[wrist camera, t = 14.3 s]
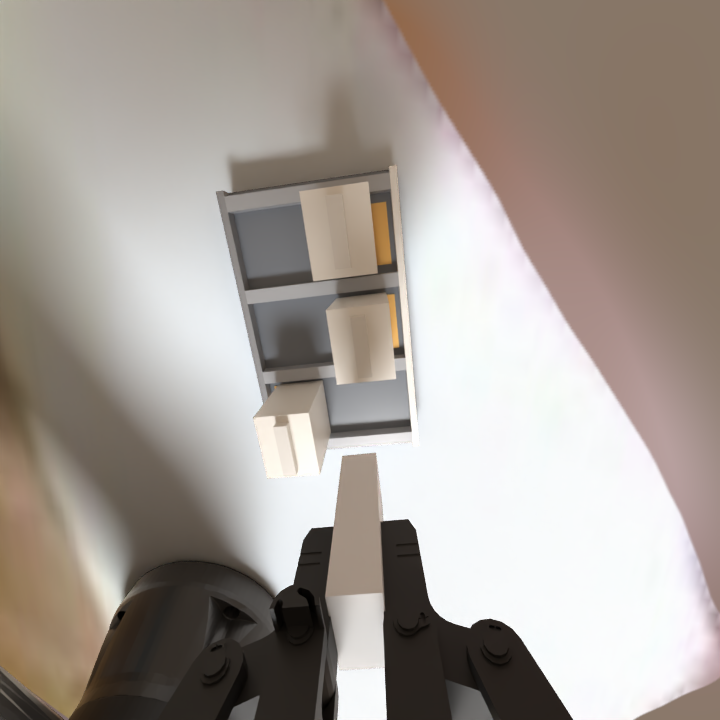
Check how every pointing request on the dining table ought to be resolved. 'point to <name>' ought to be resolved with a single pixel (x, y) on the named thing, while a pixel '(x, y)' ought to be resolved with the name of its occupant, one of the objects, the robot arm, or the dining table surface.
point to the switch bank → (321, 305)
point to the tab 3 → (361, 338)
